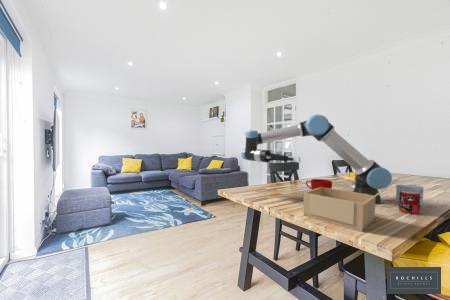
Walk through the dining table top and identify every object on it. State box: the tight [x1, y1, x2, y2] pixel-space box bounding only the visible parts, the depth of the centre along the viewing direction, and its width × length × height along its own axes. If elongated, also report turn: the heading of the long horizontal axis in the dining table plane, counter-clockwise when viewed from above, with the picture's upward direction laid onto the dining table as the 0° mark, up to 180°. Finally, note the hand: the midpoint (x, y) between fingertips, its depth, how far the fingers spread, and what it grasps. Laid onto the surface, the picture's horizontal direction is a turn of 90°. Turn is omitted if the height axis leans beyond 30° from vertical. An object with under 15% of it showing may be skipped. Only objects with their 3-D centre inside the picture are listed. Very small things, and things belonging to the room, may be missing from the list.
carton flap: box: [364, 178, 400, 204], centre depth 85 cm, size 12×19×1 cm
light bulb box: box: [395, 184, 424, 206], centre depth 123 cm, size 11×7×11 cm, turn 84°
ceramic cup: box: [305, 178, 333, 190], centre depth 140 cm, size 13×17×10 cm
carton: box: [302, 187, 376, 232], centre depth 97 cm, size 24×21×11 cm
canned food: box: [398, 189, 421, 215], centre depth 107 cm, size 8×8×11 cm
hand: (299, 159), depth 112 cm, fingers closed
